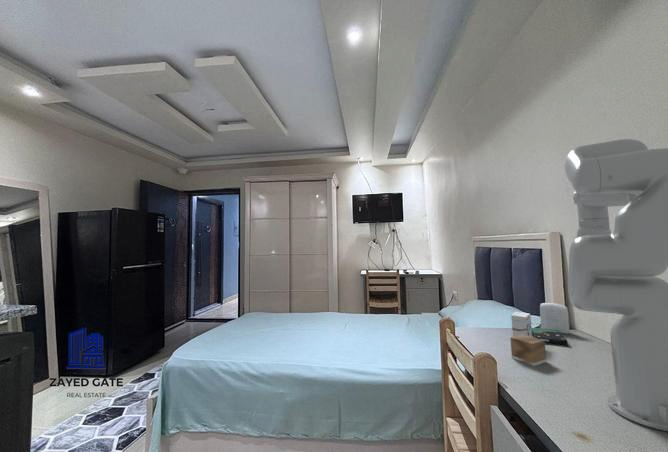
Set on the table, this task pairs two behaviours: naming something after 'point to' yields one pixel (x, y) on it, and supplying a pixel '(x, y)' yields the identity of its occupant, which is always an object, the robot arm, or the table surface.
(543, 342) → the block
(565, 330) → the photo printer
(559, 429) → the table surface
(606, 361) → the table surface
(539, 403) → the table surface
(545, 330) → the disk drive
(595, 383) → the table surface
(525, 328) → the ink box
